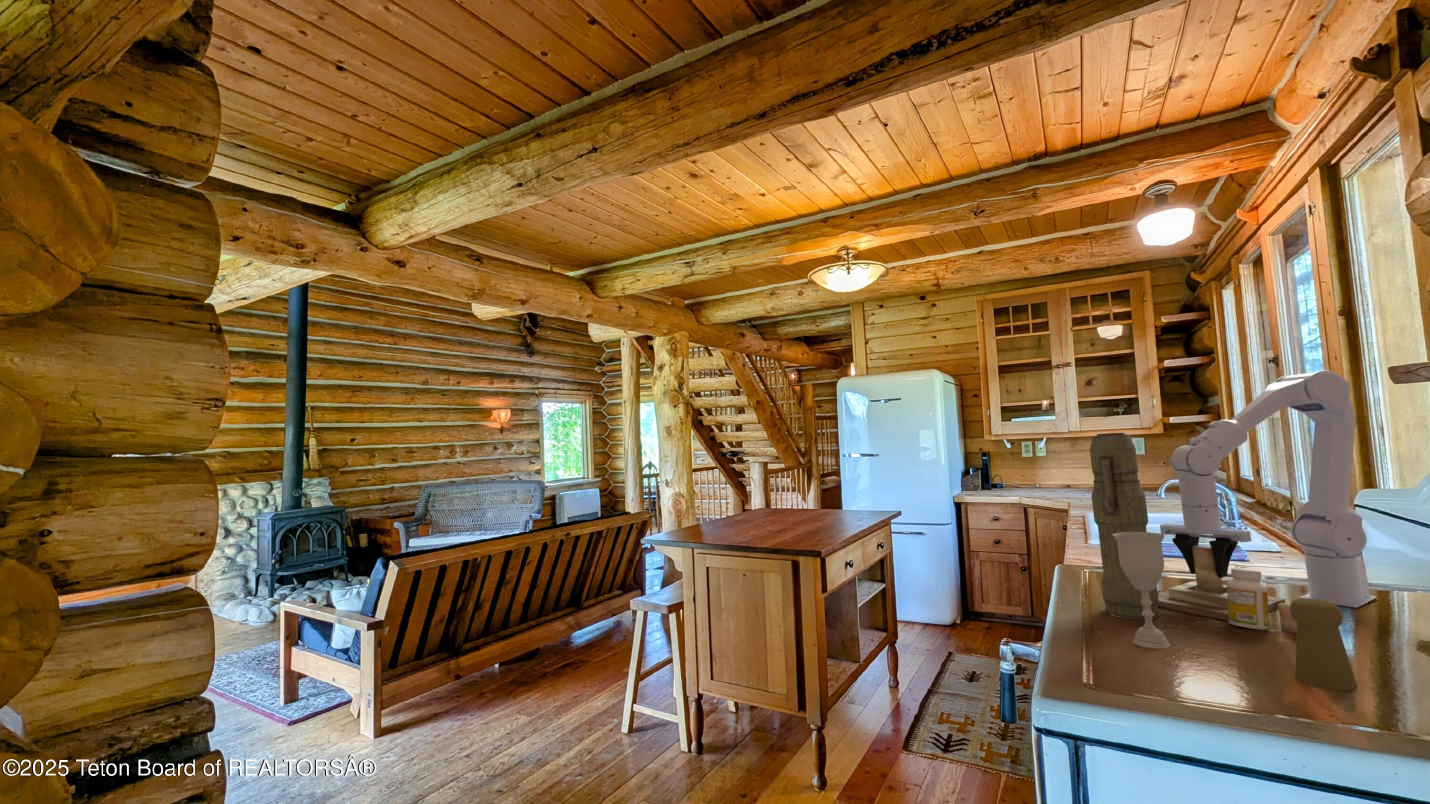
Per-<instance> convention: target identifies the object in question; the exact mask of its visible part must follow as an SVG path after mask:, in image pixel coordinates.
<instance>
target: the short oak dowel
mask: <svg viewBox="0 0 1430 804" xmlns="http://www.w3.org/2000/svg"><path fill="white" fill-rule="evenodd" d="M1291 603H1292V602H1285V603H1279V604H1278V607H1279V608H1278V613H1279V619H1280V620H1279V621H1280V629H1282V630H1283V631H1286V632H1288V633H1289V632H1290V633H1295V634H1297V622H1296V621H1295V620H1294V619H1293V618H1292V616H1291V614H1290V605H1291Z"/></svg>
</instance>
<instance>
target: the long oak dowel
mask: <svg viewBox="0 0 1430 804" xmlns="http://www.w3.org/2000/svg"><path fill="white" fill-rule="evenodd" d="M1192 551H1193V559H1194V567H1195V581H1196V582H1197V588H1199V589H1202V590H1208V591H1221V590H1223V585H1224V584H1223V578H1220V577H1218V576H1217V573H1216V565H1215V558H1214V555H1213V551H1212V548H1211V546H1210V545H1199V544H1198V546H1192Z"/></svg>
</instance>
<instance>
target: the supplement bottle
mask: <svg viewBox="0 0 1430 804" xmlns="http://www.w3.org/2000/svg"><path fill="white" fill-rule="evenodd" d="M1230 571H1231V572H1230V573H1231V574H1230V575H1231V577H1232V579H1231V580H1228V581H1227V582H1226V585H1227V599H1228V619H1229V620H1228V623H1229V624H1230V625H1233V626H1236V627H1242V628H1246V629H1251V630H1262V631H1264V630H1265V631H1267V630H1269V629H1270V616H1269V615H1270V614H1269V612H1270V611H1269V610H1268V596H1269V594H1268V587H1267V586H1266V585H1265V584H1263V583H1261V580H1262V571H1260V570H1255V569H1247V568H1235V567H1232V568H1231V569H1230Z"/></svg>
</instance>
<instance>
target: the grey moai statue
mask: <svg viewBox="0 0 1430 804" xmlns="http://www.w3.org/2000/svg"><path fill="white" fill-rule="evenodd" d="M1090 443H1091V444H1090V447H1089V455H1090V456H1089V457H1090V465H1091V471H1092V472H1091V473H1092V474H1093V481H1092V482H1093V489H1092V492H1091V504H1092V511H1093V520H1094V523H1095V524H1096V526H1097V530H1098V539H1099V547H1100V557H1101V563H1102V565H1101V567H1102V573H1103V574H1102V576H1101V581H1100V583H1101V592H1102V594H1101V595H1102V599H1103V600H1104V607H1105V608H1104V611H1105V610H1106V611H1105V613H1106V612H1107V613H1110V614H1113V615H1115V616H1119V617H1124V618H1129V619H1128V620H1132V619H1138V620H1137V621H1145V620H1144V616H1143V615H1142V614H1141V613H1142V612H1143V609H1144V608H1143V605H1142V604H1141V603H1140V602H1141V600H1142V593H1141V591H1140V590H1138V589H1135V588H1134V587H1133V585H1132V584H1131V582H1130V581H1129V579H1128V578H1127V576H1126V575H1125V573H1124V571H1123V569H1122V567H1121V565H1120V562H1119V553H1118V545H1117V541H1116V539H1115V538H1114V536H1113V534H1115V533H1120V532H1148V530H1147V525H1148V524H1149V516H1148V509H1147V507H1148V506H1147V500H1146V494H1145V492H1144V490H1143V488H1142V486H1141V482H1140V481H1141V480H1140V479H1139V476H1138V474H1139V465H1138V459H1137V458H1138V457H1137V449H1136V446H1135V443H1134V441H1133V440H1132V437H1131V435H1130V434H1125V432H1109V433H1097V434H1096V436H1092V439H1091V442H1090ZM1158 593H1159V592H1158V585H1157V586H1156V588H1155V589H1154V590H1151V591H1149V598H1150V601H1151V602H1152V604H1151V607H1150V609H1151V611H1152V613H1153V614H1154V615H1153V616H1152V618H1155V619H1157V618H1156V617H1158V616H1159V617H1160V611H1159V607H1158V602H1159V600H1158ZM1107 613H1106V614H1107ZM1115 616H1114V617H1115ZM1119 617H1118V618H1119ZM1159 617H1158V618H1159ZM1124 618H1123V619H1124Z"/></svg>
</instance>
